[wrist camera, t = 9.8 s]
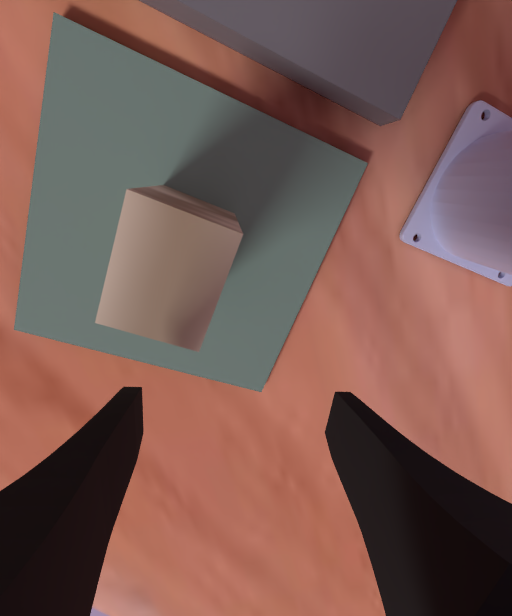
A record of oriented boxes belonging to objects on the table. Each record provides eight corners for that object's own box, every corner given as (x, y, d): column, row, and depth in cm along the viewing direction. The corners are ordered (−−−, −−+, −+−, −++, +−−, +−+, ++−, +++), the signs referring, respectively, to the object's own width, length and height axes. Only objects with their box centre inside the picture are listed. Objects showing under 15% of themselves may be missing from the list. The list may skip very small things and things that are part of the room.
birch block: (234, 213, 17) (243, 234, 11) (206, 292, 19) (198, 352, 12) (163, 184, 16) (126, 189, 10) (139, 271, 18) (95, 322, 11)
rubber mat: (363, 163, 18) (367, 163, 17) (260, 386, 23) (261, 392, 22) (60, 19, 14) (54, 12, 13) (20, 325, 19) (13, 329, 18)
